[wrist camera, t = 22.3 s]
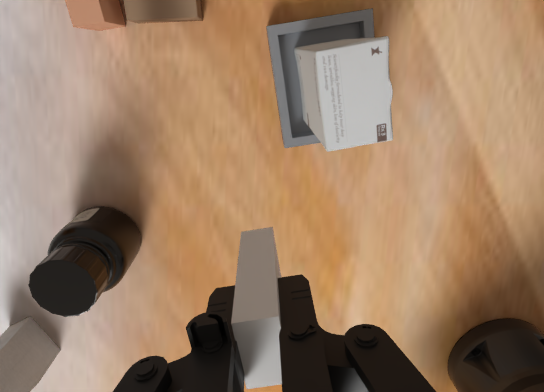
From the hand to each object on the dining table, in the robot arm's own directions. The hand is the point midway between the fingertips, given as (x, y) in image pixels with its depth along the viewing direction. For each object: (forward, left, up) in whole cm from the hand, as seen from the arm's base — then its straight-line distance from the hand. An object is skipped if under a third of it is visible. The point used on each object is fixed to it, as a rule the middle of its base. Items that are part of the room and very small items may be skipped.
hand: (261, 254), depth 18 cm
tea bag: (+37, +24, -30) cm, 53 cm away
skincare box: (-8, -5, -29) cm, 31 cm away
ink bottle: (+22, +10, -30) cm, 38 cm away
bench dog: (+14, -17, -29) cm, 37 cm away
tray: (-8, -5, -29) cm, 31 cm away
